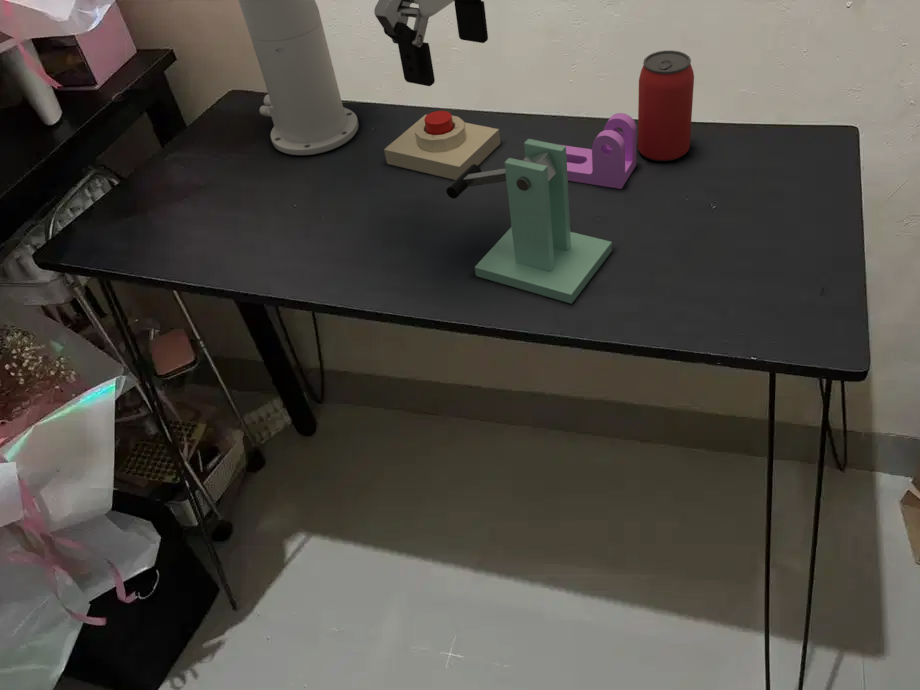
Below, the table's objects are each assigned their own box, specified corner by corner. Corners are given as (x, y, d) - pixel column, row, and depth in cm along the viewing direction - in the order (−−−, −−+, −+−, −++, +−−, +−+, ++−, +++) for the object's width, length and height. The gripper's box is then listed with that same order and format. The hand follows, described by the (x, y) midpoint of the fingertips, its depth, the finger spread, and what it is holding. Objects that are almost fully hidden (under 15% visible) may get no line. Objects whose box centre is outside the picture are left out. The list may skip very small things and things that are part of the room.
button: (421, 133, 110) (418, 121, 109) (436, 120, 112) (434, 108, 111) (443, 138, 109) (441, 126, 107) (458, 125, 111) (456, 113, 109)
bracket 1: (475, 276, 93) (458, 167, 84) (519, 227, 99) (508, 120, 89) (571, 304, 88) (565, 192, 79) (612, 251, 94) (611, 140, 84)
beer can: (631, 160, 107) (632, 70, 98) (645, 134, 111) (647, 46, 103) (682, 166, 105) (688, 75, 96) (694, 140, 109) (701, 50, 100)
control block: (387, 163, 113) (381, 137, 110) (428, 128, 118) (423, 102, 115) (461, 181, 108) (457, 153, 105) (500, 143, 113) (497, 116, 110)
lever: (451, 203, 91) (442, 184, 90) (475, 179, 94) (466, 160, 93) (540, 191, 83) (531, 170, 82) (563, 166, 86) (554, 145, 85)
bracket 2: (636, 165, 106) (636, 115, 101) (621, 189, 103) (621, 137, 98) (541, 151, 111) (538, 102, 106) (524, 173, 107) (520, 123, 102)
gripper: (438, -165, 77) (462, 21, 89) (320, -106, 67) (365, 94, 79) (508, -163, 74) (523, 30, 86) (395, -100, 64) (430, 107, 76)
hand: (447, 60), depth 82 cm, fingers open, 9 cm apart
